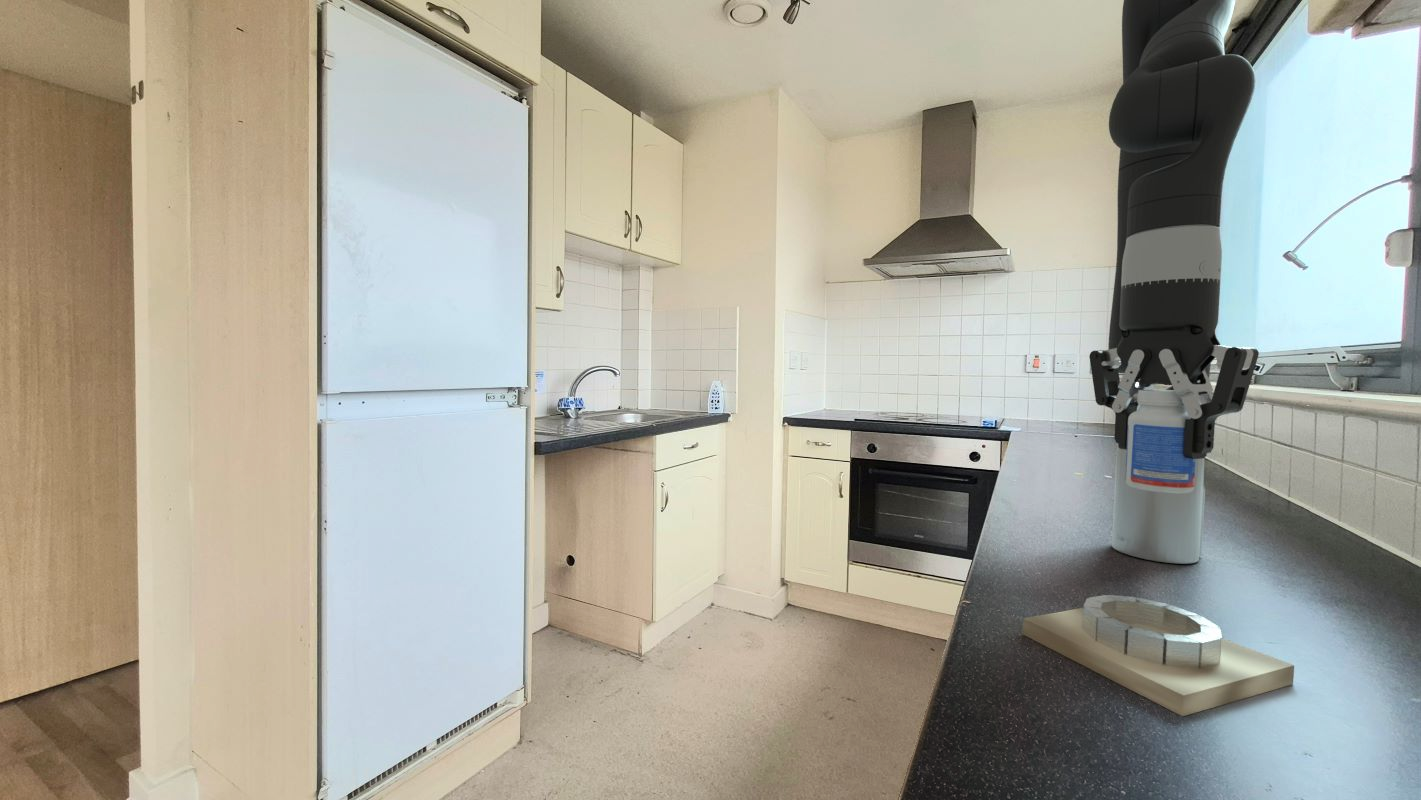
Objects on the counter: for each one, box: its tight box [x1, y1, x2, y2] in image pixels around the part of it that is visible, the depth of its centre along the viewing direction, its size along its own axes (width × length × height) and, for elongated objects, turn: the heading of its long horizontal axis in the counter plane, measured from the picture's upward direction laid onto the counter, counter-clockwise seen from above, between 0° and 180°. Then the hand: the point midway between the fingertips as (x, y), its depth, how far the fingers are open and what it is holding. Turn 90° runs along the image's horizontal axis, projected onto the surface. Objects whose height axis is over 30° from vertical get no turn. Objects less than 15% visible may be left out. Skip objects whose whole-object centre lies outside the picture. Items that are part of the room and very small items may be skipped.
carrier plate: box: [1022, 607, 1295, 717], centre depth 48 cm, size 13×13×2 cm
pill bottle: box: [1125, 389, 1196, 493], centre depth 56 cm, size 6×5×10 cm
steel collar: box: [1082, 594, 1222, 669], centre depth 48 cm, size 9×9×2 cm
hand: (1159, 452), depth 56 cm, fingers closed on pill bottle, 5 cm apart
